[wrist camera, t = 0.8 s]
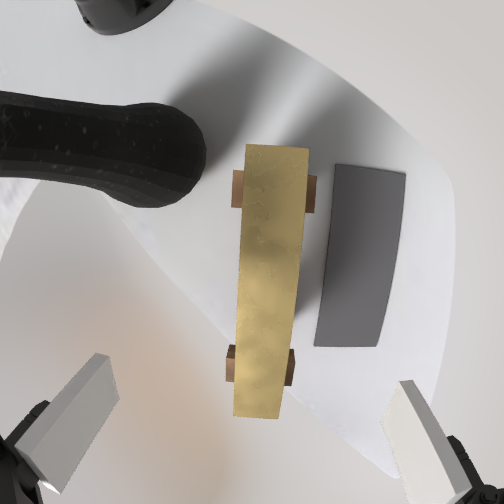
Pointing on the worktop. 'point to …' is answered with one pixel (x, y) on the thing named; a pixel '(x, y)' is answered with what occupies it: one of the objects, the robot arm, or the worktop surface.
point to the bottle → (102, 147)
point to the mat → (360, 256)
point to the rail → (268, 274)
